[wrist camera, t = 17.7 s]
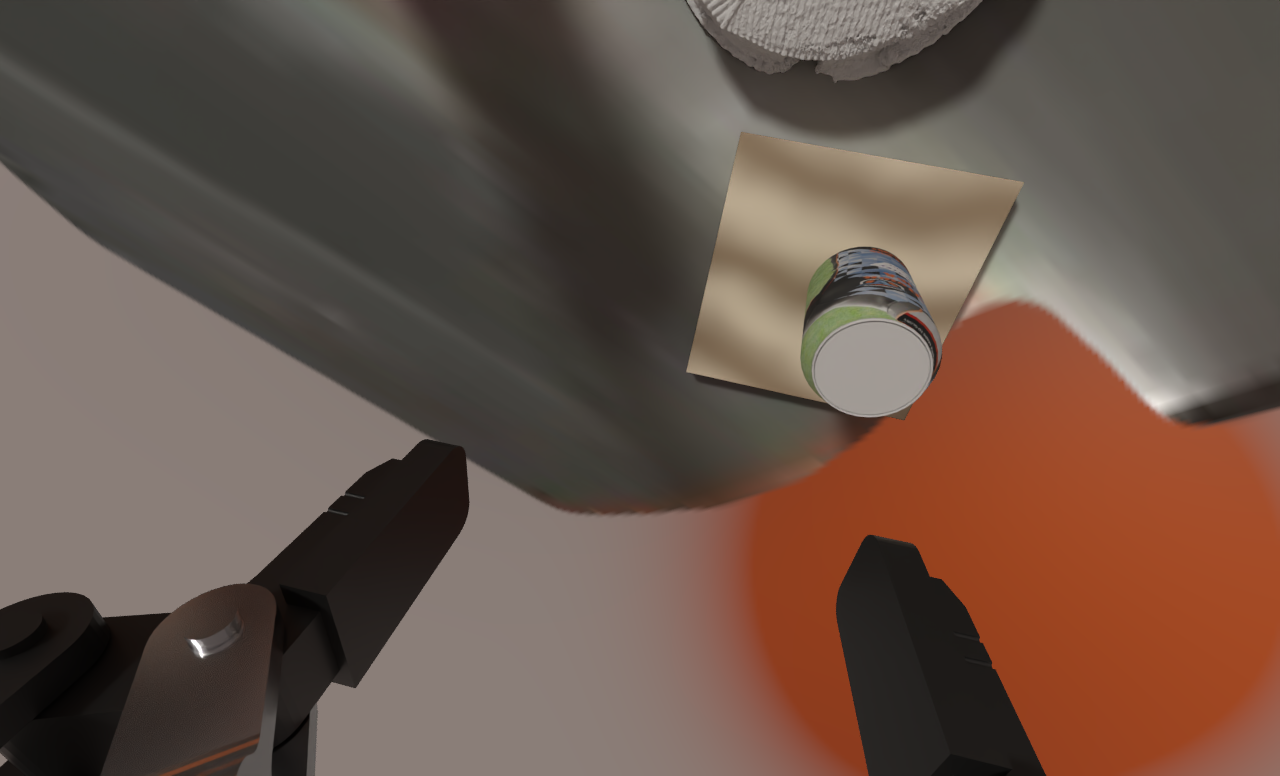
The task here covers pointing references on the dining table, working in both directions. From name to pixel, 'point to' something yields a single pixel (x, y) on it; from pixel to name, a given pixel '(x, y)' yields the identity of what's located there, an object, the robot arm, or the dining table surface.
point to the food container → (829, 31)
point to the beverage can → (868, 334)
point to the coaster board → (831, 247)
